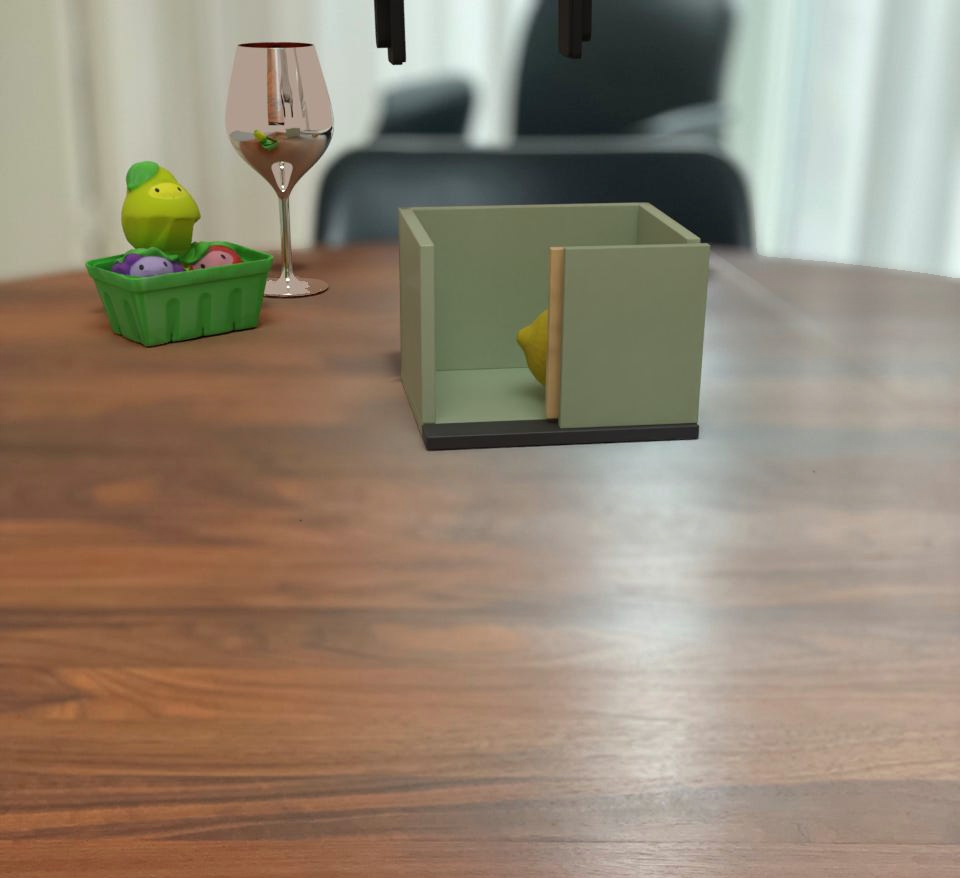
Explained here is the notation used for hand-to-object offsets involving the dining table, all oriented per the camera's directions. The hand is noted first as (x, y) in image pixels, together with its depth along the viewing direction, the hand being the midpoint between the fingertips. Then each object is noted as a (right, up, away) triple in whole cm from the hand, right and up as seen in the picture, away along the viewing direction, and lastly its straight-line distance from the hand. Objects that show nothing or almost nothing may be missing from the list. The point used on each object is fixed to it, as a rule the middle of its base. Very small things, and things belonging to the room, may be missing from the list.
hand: (483, 59), depth 82 cm
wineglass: (-15, -4, +37) cm, 40 cm away
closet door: (+7, -19, +3) cm, 21 cm away
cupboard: (+4, -18, +8) cm, 20 cm away
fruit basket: (-22, -10, +25) cm, 34 cm away
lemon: (+2, -14, +5) cm, 15 cm away
